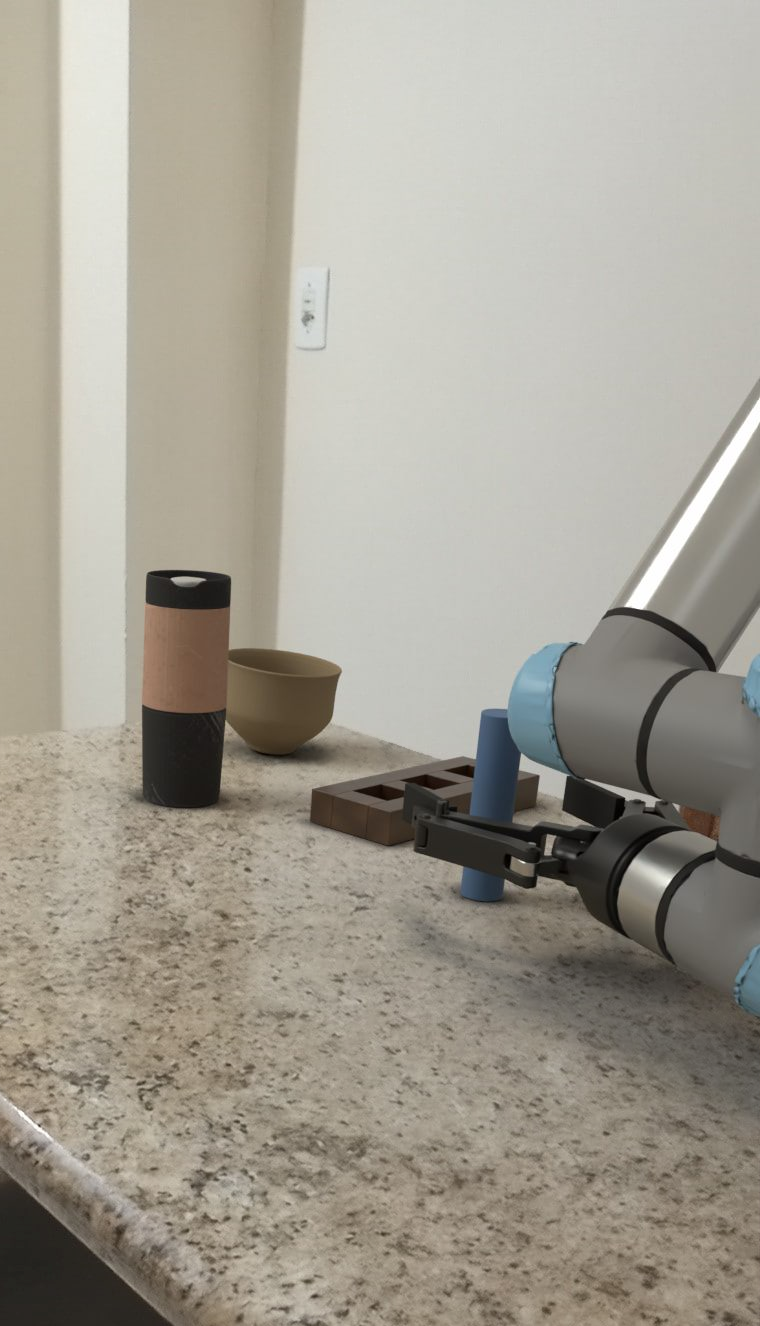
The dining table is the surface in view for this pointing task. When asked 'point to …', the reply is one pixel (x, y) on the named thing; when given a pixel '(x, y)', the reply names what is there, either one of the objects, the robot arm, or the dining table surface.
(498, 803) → the peg
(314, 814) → the rack
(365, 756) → the dining table surface
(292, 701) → the bowl
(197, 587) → the travel mug
